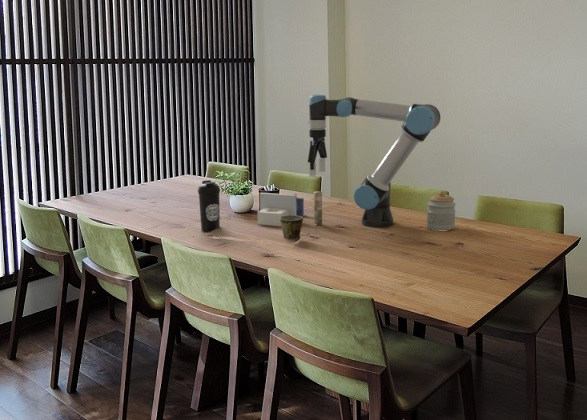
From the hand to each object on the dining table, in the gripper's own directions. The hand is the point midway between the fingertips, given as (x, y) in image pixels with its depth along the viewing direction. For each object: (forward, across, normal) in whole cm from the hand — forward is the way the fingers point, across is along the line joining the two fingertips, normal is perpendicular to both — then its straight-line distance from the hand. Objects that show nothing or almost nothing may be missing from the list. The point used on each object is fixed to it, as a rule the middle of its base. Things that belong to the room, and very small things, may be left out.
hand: (317, 174), depth 330 cm
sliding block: (+24, +7, -20) cm, 32 cm away
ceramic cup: (+25, +30, -2) cm, 39 cm away
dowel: (+25, 0, 0) cm, 25 cm away
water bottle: (+25, +24, -45) cm, 57 cm away
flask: (+25, -17, -18) cm, 35 cm away
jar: (+25, -12, +56) cm, 63 cm away
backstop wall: (+25, +12, -20) cm, 34 cm away
